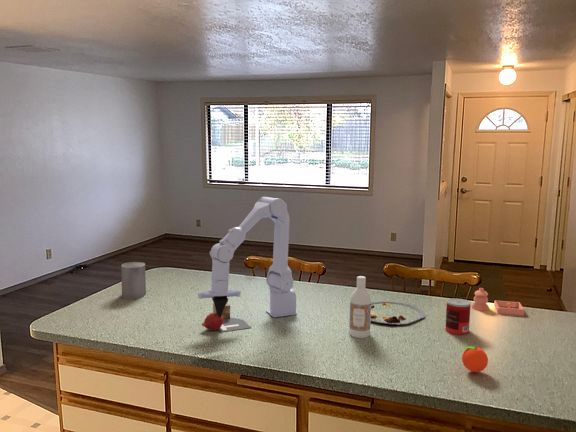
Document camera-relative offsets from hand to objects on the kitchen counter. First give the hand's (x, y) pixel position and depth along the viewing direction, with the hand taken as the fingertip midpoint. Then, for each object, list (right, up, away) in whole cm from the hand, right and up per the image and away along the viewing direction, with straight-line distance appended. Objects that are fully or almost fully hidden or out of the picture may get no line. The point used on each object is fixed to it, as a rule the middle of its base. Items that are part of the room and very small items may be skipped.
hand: (218, 317), depth 173 cm
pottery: (+104, -3, +20) cm, 106 cm away
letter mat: (+2, -3, +8) cm, 9 cm away
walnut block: (-1, -2, +12) cm, 12 cm away
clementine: (+76, -9, -30) cm, 82 cm away
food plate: (+62, -3, +15) cm, 64 cm away
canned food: (+82, -5, -1) cm, 82 cm away
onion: (+2, 0, +1) cm, 2 cm away
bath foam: (+48, -5, -3) cm, 48 cm away
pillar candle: (-41, +1, +38) cm, 55 cm away
